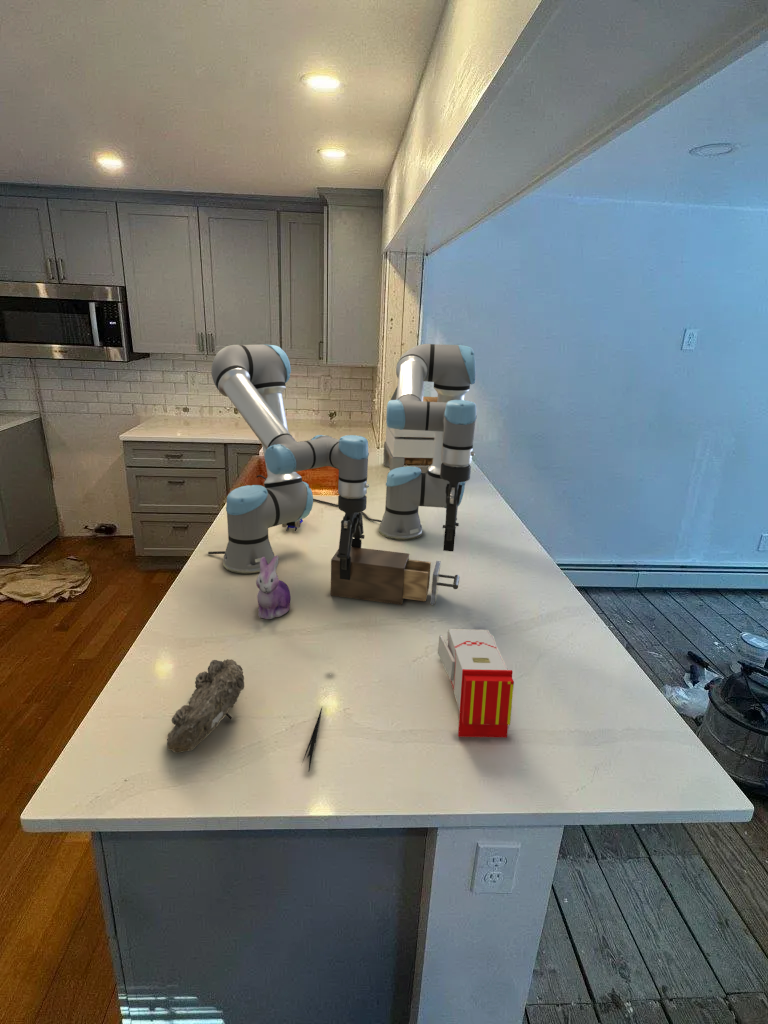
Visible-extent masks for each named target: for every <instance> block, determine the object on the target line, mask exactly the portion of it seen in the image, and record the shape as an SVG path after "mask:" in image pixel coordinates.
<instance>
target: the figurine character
mask: <svg viewBox="0 0 768 1024" xmlns="http://www.w3.org/2000/svg"><path fill="white" fill-rule="evenodd" d="M303 522H304V520H303V519H300V520H298V521H296V522H289V523H285V524H281V528H285V531H286V532H289V530H290V529H294V532H297V530H298V528H300V527H301V524H302V523H303Z"/></svg>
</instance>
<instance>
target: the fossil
mask: <svg viewBox="0 0 768 1024" xmlns="http://www.w3.org/2000/svg"><path fill="white" fill-rule="evenodd" d="M243 670H244V669H243V667H242V665H240V664H237V662H236V661H235V660H234V659H232V658H231V659H227V658H226V659H224V660H223V661H222V660H217V659H212V660H211V661H210V663H209V665H208V666H207V671H201V672H199V673H198V674H197V675H196V676H195V680H194V684H195V685H194V687H195V689H194V690H193V693H192V694H191V697H190V698H189V700H188V704H184V705H182V706H181V707H180V709H177V710H176V711H175V713H174V715H173V716H172V718H171V723H172V724H173V727H172V730H171V731H170V732H168V734H167V738H166V741H167V742H166V745H167V749H168V750H169V751H173V752H174V753H176V754H178V753H182V752H188V751H189V752H192V751H193V750H195V748H196V747H197V746H199V744H200V743H201V742H203V741H204V740H205V739H206V738H207V737H208V736H209V735H210V734H211V733H212V732H214V730H215V729H217V727H218V726H219V724H220V722H221V721H222V720H223V719H224V718H225V716H226V717H227V719H229V720H233V717H232V715H230V714H229V710H230V709H231V708H234V706H235V704H236V703H237V702H238V699H239V697H240V695H241V693H242V691H243V690H245V689H244V688H245V675H244V671H243Z"/></svg>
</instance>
